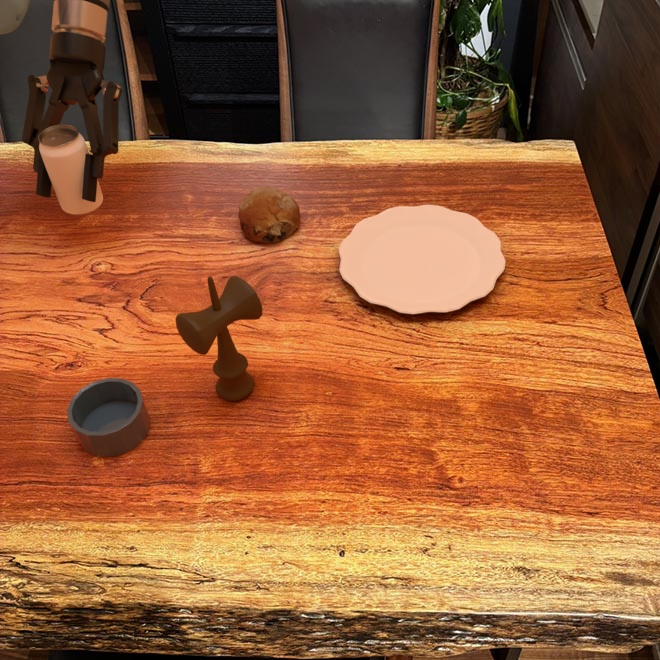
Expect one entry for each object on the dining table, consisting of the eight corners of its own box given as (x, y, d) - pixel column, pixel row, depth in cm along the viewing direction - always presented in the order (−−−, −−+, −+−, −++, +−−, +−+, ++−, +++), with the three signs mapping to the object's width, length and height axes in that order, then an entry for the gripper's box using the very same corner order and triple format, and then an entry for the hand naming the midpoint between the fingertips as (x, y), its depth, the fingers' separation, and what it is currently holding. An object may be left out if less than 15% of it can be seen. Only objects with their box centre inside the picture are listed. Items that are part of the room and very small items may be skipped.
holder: (63, 442, 102) (51, 420, 99) (107, 391, 108) (98, 369, 104) (122, 466, 99) (112, 445, 96) (164, 413, 105) (156, 391, 102)
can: (72, 188, 126) (48, 120, 117) (111, 193, 125) (89, 124, 116) (53, 214, 122) (26, 145, 113) (93, 218, 121) (69, 149, 112)
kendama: (277, 379, 108) (258, 266, 93) (223, 421, 104) (193, 310, 89) (248, 358, 111) (224, 245, 96) (193, 398, 106) (160, 286, 91)
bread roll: (306, 233, 134) (307, 185, 131) (290, 248, 125) (291, 197, 122) (249, 228, 136) (249, 180, 132) (229, 242, 126) (228, 191, 123)
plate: (438, 195, 134) (438, 186, 133) (537, 278, 120) (539, 268, 119) (309, 251, 126) (308, 241, 124) (399, 347, 112) (399, 337, 110)
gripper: (152, 52, 119) (139, 208, 121) (31, 43, 122) (19, 196, 123) (131, 33, 112) (116, 200, 114) (1, 24, 114) (-11, 188, 116)
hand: (66, 198), depth 118 cm, fingers closed on can, 6 cm apart
